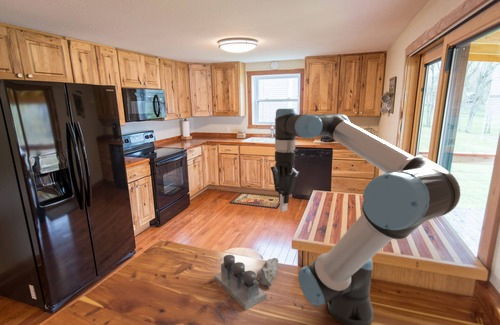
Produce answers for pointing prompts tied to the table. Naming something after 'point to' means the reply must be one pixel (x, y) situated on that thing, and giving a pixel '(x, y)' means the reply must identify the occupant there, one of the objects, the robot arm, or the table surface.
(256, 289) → the square socket rack
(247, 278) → the knob
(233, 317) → the table surface
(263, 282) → the rock
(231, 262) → the knob
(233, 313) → the table surface
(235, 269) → the knob
